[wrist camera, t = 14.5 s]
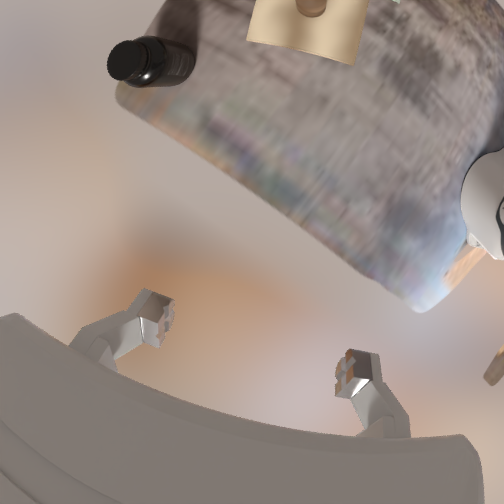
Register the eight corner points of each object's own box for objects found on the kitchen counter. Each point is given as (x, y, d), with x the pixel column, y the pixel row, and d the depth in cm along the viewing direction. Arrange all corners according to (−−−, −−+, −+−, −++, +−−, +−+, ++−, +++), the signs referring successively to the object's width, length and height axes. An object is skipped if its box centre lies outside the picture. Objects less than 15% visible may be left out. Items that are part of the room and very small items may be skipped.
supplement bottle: (174, 34, 28) (125, 20, 18) (205, 61, 30) (163, 51, 20) (144, 69, 31) (91, 68, 21) (173, 95, 33) (123, 101, 23)
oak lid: (370, -14, 17) (379, -29, 13) (352, 65, 24) (360, 60, 20) (268, -37, 17) (262, -54, 13) (247, 40, 24) (237, 32, 20)
